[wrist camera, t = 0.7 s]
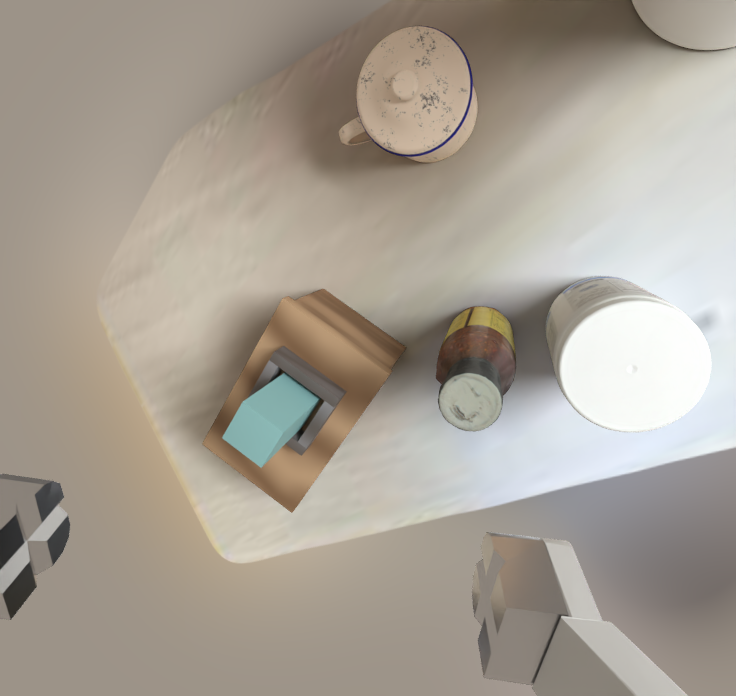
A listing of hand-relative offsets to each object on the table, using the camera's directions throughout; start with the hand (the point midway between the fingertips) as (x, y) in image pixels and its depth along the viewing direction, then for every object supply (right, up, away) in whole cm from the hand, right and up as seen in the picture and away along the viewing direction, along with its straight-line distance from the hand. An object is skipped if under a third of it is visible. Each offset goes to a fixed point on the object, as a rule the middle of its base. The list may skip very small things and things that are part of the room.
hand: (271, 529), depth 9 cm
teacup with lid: (+6, +25, +37) cm, 45 cm away
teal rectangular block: (-5, -1, +37) cm, 37 cm away
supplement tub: (+24, +6, +37) cm, 44 cm away
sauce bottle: (+14, +5, +40) cm, 43 cm away
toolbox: (-3, 0, +47) cm, 47 cm away
